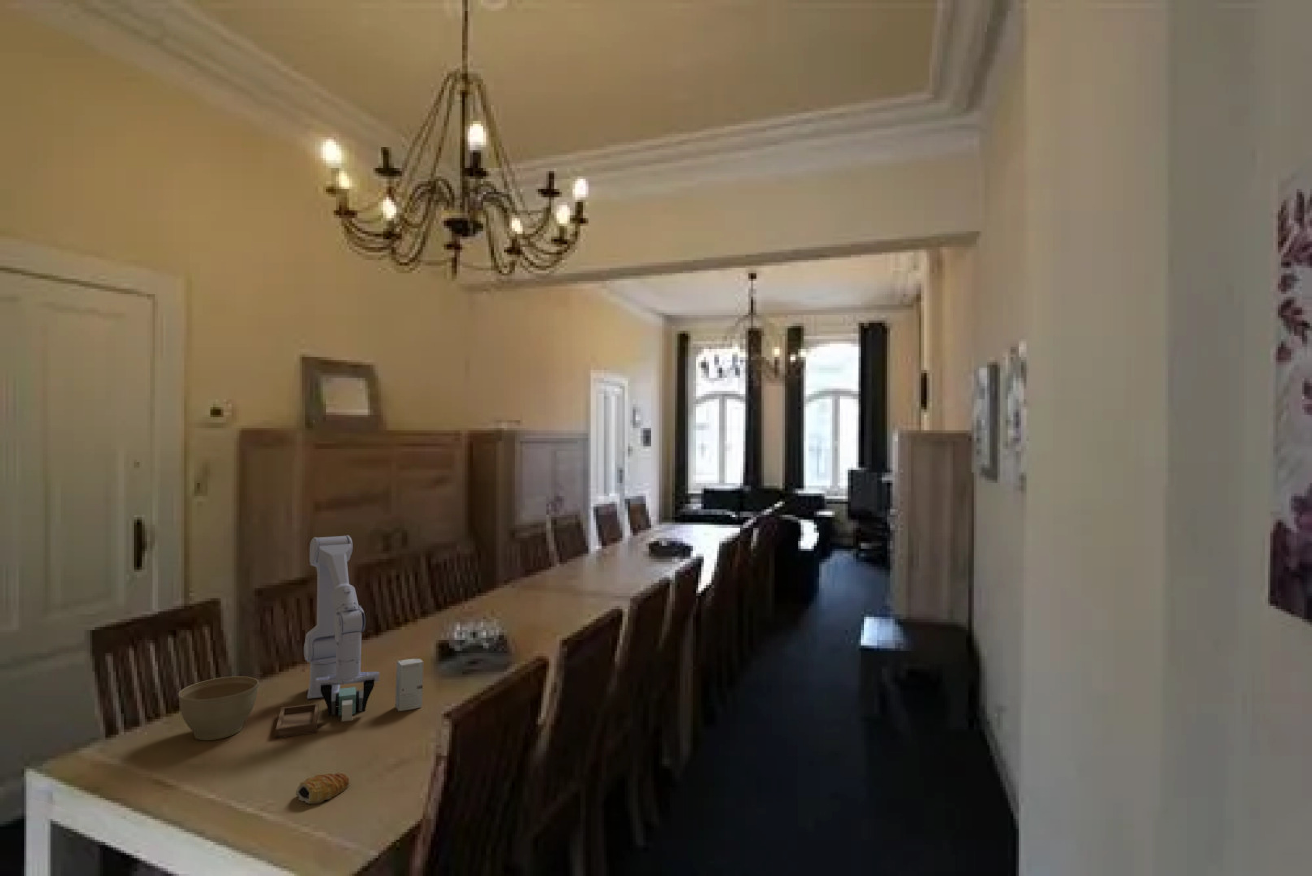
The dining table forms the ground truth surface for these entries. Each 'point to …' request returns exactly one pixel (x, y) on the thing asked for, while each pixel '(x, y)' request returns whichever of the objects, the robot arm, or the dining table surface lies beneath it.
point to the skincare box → (409, 684)
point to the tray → (297, 720)
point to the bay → (336, 700)
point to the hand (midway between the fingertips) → (347, 712)
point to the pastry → (322, 787)
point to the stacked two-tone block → (347, 703)
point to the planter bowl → (218, 706)
